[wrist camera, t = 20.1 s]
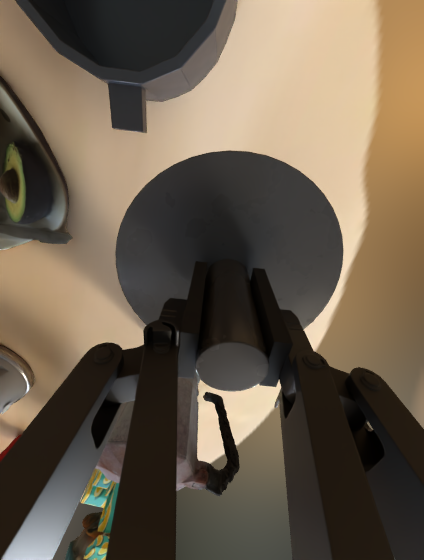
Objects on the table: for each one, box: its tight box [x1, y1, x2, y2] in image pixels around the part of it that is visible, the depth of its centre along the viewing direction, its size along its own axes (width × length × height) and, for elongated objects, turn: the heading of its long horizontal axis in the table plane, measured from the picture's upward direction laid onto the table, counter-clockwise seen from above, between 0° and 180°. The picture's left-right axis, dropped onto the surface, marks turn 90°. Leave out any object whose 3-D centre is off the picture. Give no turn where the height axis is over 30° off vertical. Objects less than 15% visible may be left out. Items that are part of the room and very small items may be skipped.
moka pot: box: [95, 368, 239, 496], centre depth 26 cm, size 10×15×20 cm, turn 82°
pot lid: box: [116, 151, 343, 391], centre depth 13 cm, size 15×15×9 cm
